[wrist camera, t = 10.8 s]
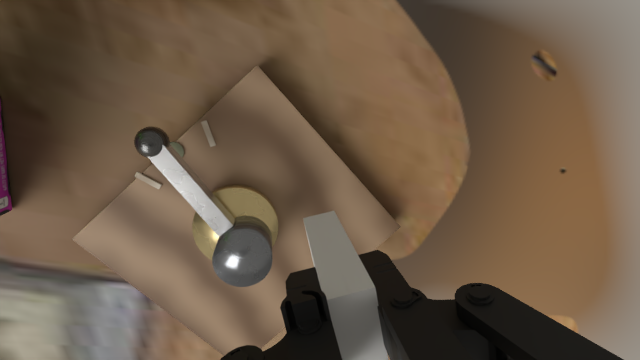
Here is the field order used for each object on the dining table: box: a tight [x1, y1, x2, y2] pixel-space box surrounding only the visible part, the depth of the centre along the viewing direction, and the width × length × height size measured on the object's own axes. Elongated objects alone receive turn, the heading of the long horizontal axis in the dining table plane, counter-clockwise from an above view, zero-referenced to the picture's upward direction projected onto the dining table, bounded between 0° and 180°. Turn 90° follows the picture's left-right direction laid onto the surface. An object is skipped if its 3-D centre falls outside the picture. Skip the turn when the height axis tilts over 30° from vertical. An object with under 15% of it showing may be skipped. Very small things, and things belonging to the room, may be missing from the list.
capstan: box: [134, 127, 278, 287], centre depth 30 cm, size 16×8×6 cm, turn 35°
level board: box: [72, 65, 400, 356], centre depth 36 cm, size 24×22×2 cm
